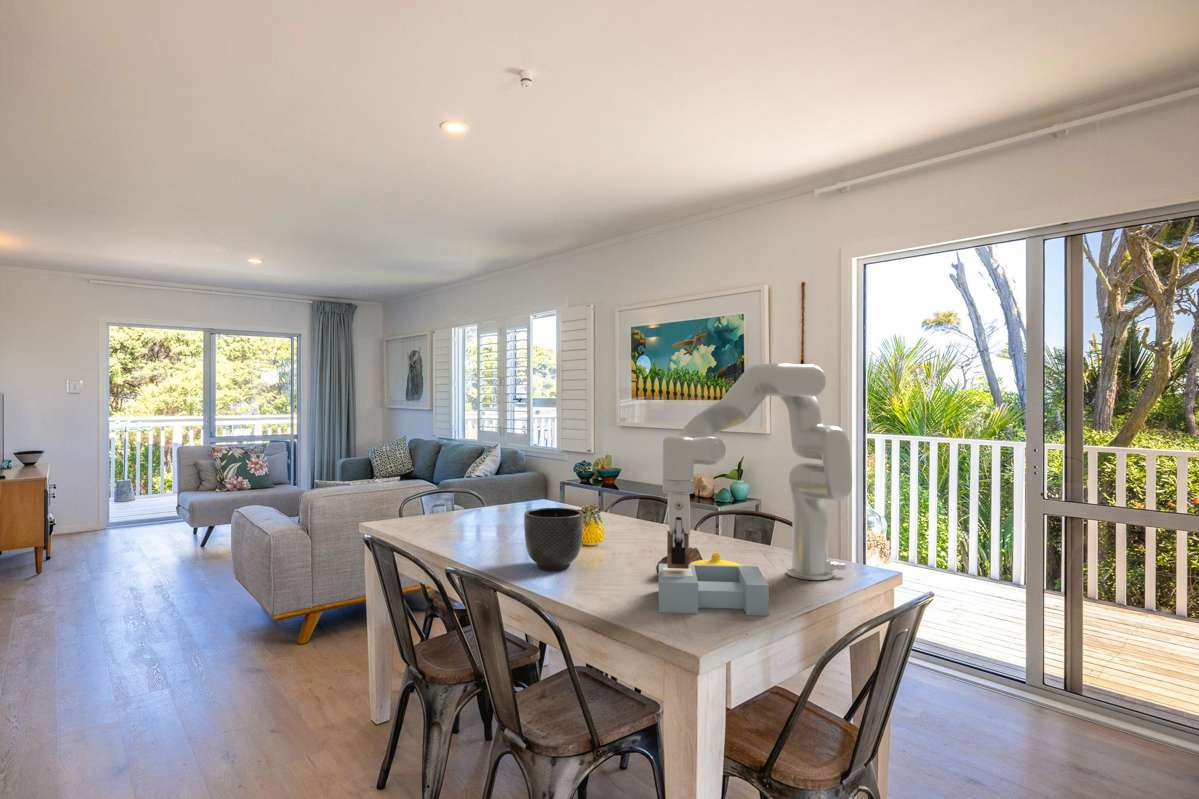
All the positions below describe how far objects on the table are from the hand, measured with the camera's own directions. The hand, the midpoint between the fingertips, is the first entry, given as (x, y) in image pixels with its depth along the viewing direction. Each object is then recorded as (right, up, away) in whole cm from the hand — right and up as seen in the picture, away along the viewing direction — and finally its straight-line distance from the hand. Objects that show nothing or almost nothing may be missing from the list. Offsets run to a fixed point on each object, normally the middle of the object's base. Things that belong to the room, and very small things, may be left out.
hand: (677, 560), depth 162 cm
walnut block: (0, -1, 0) cm, 1 cm away
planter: (-33, -10, +32) cm, 47 cm away
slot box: (+8, -10, -1) cm, 13 cm away
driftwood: (+4, -10, +26) cm, 29 cm away
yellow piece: (+13, -10, +20) cm, 26 cm away
